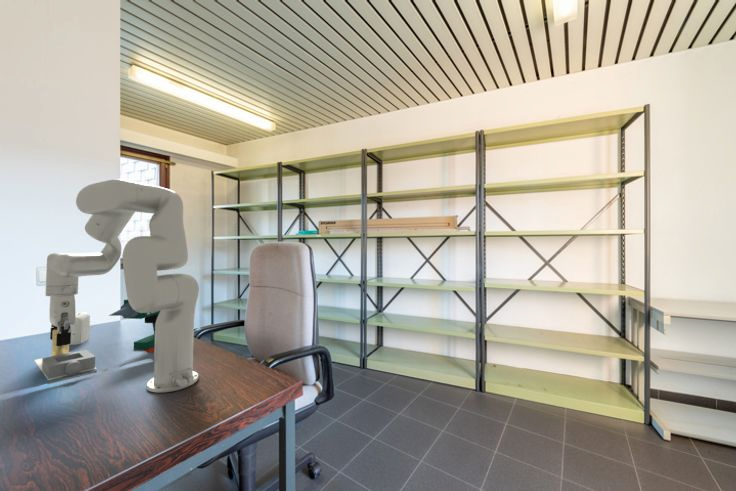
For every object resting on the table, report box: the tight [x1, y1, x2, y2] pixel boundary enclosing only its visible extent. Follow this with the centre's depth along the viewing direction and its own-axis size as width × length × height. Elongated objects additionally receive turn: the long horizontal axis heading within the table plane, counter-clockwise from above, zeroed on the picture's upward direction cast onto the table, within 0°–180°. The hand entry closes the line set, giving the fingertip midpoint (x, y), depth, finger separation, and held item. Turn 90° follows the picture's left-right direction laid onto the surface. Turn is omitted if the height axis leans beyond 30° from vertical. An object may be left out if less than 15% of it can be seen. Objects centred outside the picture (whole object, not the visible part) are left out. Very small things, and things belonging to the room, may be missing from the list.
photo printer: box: [69, 311, 91, 346], centre depth 118 cm, size 10×4×12 cm, turn 28°
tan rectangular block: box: [51, 329, 70, 357], centre depth 99 cm, size 4×4×10 cm
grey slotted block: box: [33, 349, 97, 385], centre depth 95 cm, size 25×10×5 cm, turn 54°
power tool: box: [108, 298, 161, 354], centre depth 113 cm, size 32×7×20 cm, turn 179°
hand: (60, 341), depth 99 cm, fingers open, 9 cm apart
